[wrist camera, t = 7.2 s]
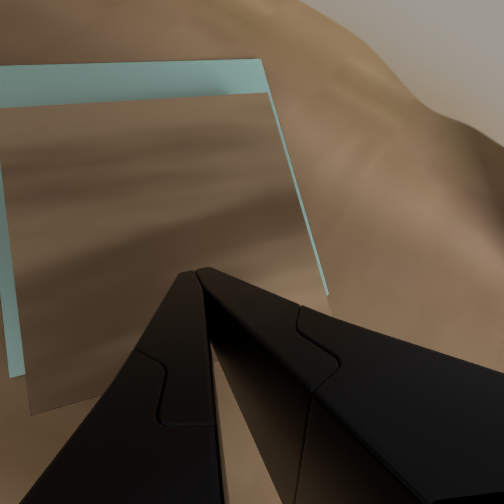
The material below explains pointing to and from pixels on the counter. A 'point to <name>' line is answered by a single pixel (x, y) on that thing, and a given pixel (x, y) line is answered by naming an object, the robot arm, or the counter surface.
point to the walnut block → (140, 223)
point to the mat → (108, 90)
